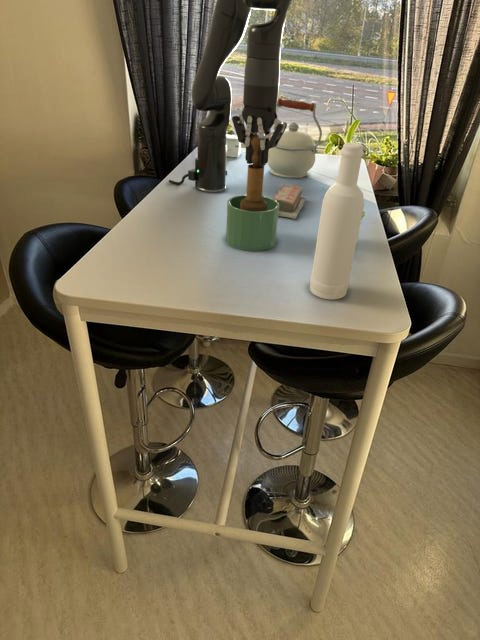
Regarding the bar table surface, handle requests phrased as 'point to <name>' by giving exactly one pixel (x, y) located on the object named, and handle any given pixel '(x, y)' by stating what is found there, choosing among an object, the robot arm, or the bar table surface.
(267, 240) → the cup
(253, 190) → the brown knobbed turned figurine
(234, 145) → the white small box
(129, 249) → the bar table surface
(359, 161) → the bottle
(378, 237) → the bar table surface
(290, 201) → the packaged product
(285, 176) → the kettle
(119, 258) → the bar table surface
